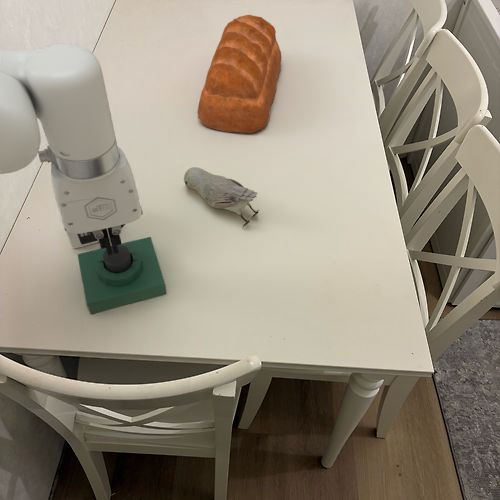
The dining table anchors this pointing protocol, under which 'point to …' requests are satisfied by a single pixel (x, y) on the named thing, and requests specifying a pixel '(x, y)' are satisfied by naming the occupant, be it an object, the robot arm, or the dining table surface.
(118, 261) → the dark grey push button
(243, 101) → the bread
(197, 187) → the decorative bird
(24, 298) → the dining table surface
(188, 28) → the dining table surface
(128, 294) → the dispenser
